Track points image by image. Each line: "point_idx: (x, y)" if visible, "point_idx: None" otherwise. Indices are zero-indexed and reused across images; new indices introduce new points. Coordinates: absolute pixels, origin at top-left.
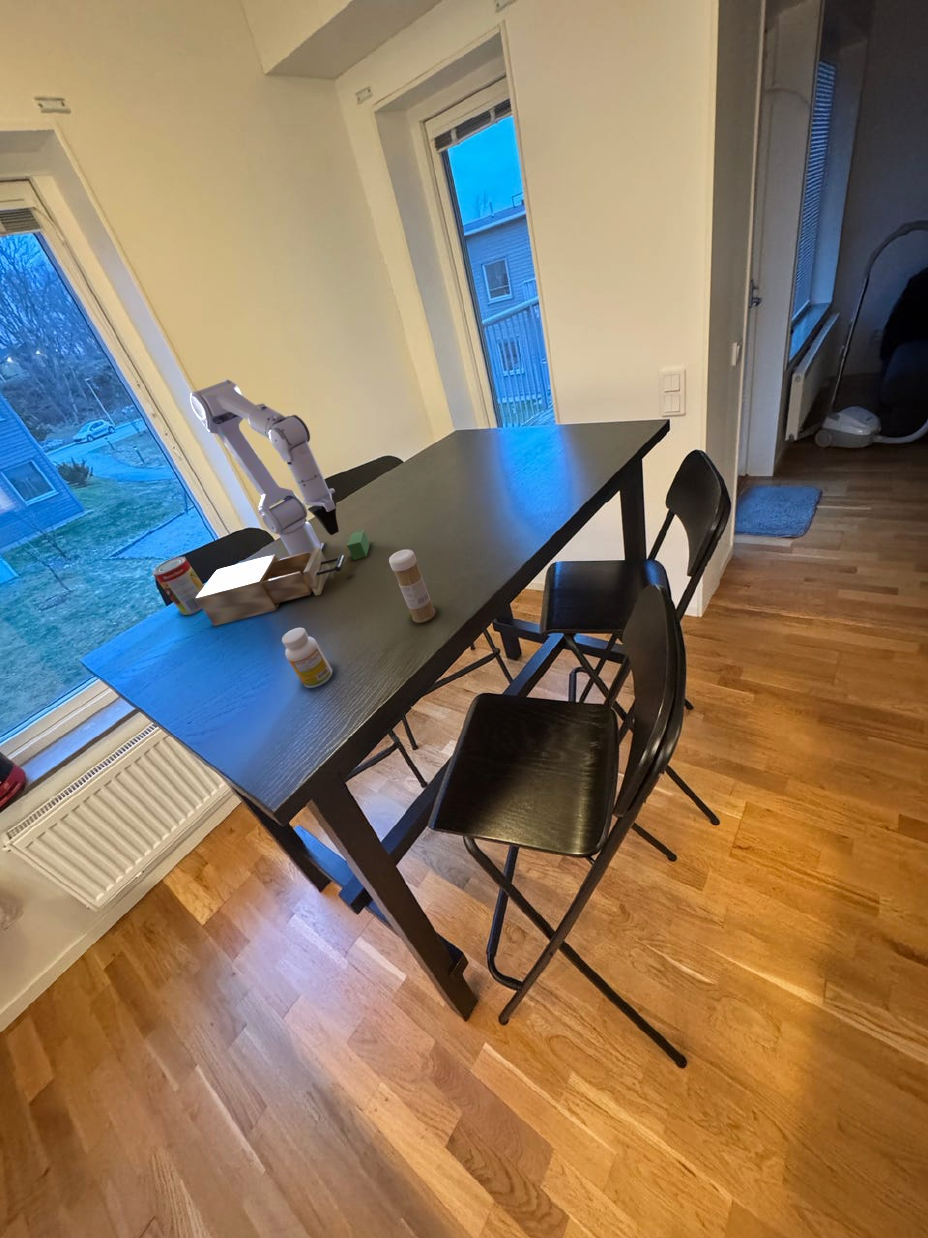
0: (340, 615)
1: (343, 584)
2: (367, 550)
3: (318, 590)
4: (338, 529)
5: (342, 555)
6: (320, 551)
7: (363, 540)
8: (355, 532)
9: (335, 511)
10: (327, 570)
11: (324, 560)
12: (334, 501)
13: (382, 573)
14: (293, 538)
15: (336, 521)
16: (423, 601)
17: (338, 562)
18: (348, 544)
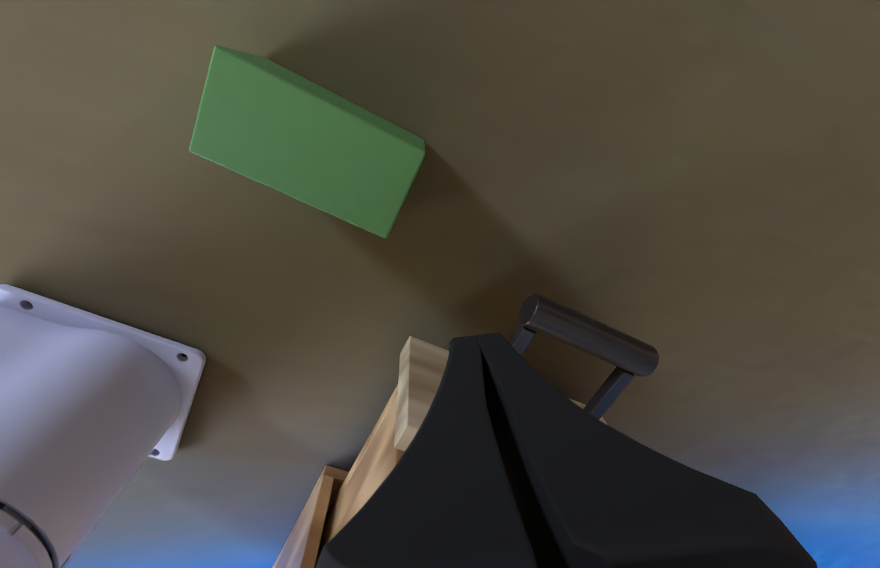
0: (786, 376)
1: (585, 314)
2: (359, 106)
3: (606, 423)
4: (501, 337)
5: (546, 310)
6: (425, 413)
7: (343, 106)
8: (203, 119)
9: (645, 449)
10: (612, 402)
11: (427, 377)
12: (680, 547)
13: (697, 141)
14: (91, 518)
15: (542, 379)
16: None
17: (619, 350)
18: (379, 227)
